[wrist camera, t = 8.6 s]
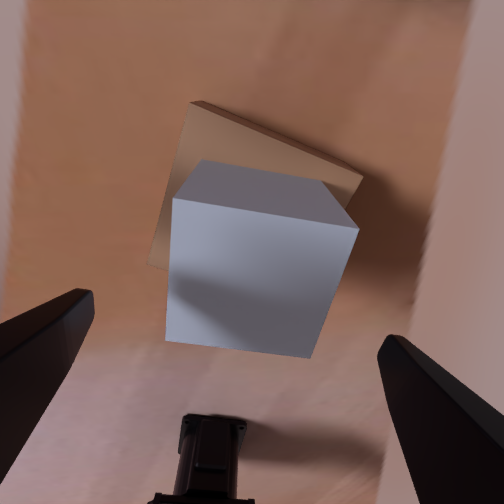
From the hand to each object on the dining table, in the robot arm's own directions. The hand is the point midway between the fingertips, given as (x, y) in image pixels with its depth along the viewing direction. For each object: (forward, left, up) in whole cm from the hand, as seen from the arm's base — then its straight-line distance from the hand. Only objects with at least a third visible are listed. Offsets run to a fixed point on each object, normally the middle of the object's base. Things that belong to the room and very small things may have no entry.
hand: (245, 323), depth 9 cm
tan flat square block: (0, 0, -12) cm, 12 cm away
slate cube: (0, 0, -8) cm, 8 cm away
